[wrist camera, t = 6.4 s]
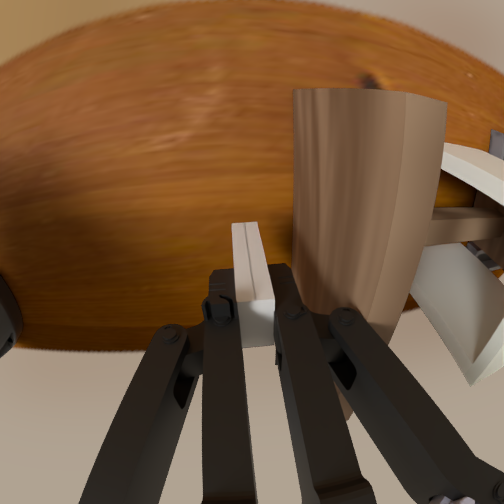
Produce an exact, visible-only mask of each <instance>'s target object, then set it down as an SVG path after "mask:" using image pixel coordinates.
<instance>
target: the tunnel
mask: <svg viewBox="0 0 504 504" xmlns="http://www.w3.org/2000/svg"><path fill="white" fill-rule="evenodd" d="M441 169H442V170H444V171H446V172H448V173H450V174H452V175H454V176H456V177H457V178H459V179H461V180H463V181H464V182H466V183H468V184H470V185H471V186H473V187H475V188H476V189H478V190H480V191H481V192H483V193H484V194H486V195H488V196H489V197H491V198H492V199H494V200H495V201H497V202H498V203H500V204H501V205H503V206H504V160H502V159H499V158H497V157H495V156H493V155H491V154H489V153H487V152H484V151H482V150H479V149H474V148H470V147H465V146H460V145H455V144H450V143H445V142H444V150H443V158H442V165H441ZM409 293H410V294H411V295H412V297H413V298H414V300H415V301H416V302H417V304H418V305H419V306H420V308H421V309H422V311H423V312H424V314H425V315H426V316H427V318H428V319H429V321H430V322H431V324H432V325H433V327H434V328H435V330H436V331H437V333H438V334H439V336H440V337H441V339H442V340H443V342H444V343H445V345H446V347H447V348H448V350H449V351H450V353H451V355H452V356H453V358H454V359H455V361H456V363H457V365H458V366H459V368H460V370H461V371H462V373H463V375H464V376H465V378H466V380H467V382H468V383H469V385H470V387H471V386H472V385H474V384H476V383H478V382H479V381H481V380H483V379H485V378H486V377H488V376H489V375H491V374H493V373H494V372H496V371H497V370H499V369H500V368H502V367H504V285H503V284H502V283H501V281H500V280H499V279H498V278H497V277H496V276H495V275H494V274H493V273H492V272H491V271H490V270H489V269H488V268H487V267H486V266H485V265H484V264H483V263H482V262H481V261H480V260H479V259H478V258H477V257H475V256H474V255H473V254H472V253H471V252H470V251H469V250H468V249H467V248H466V247H465V246H464V245H462V244H461V243H460V242H459V243H451V244H442V245H434V246H425V247H424V248H423V252H422V255H421V259H420V262H419V265H418V268H417V271H416V274H415V277H414V280H413V283H412V286H411V289H410V292H409Z"/></svg>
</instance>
